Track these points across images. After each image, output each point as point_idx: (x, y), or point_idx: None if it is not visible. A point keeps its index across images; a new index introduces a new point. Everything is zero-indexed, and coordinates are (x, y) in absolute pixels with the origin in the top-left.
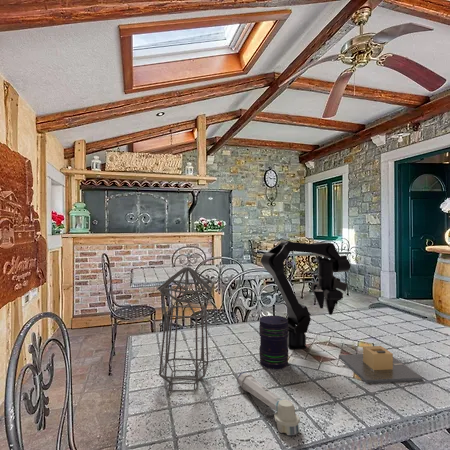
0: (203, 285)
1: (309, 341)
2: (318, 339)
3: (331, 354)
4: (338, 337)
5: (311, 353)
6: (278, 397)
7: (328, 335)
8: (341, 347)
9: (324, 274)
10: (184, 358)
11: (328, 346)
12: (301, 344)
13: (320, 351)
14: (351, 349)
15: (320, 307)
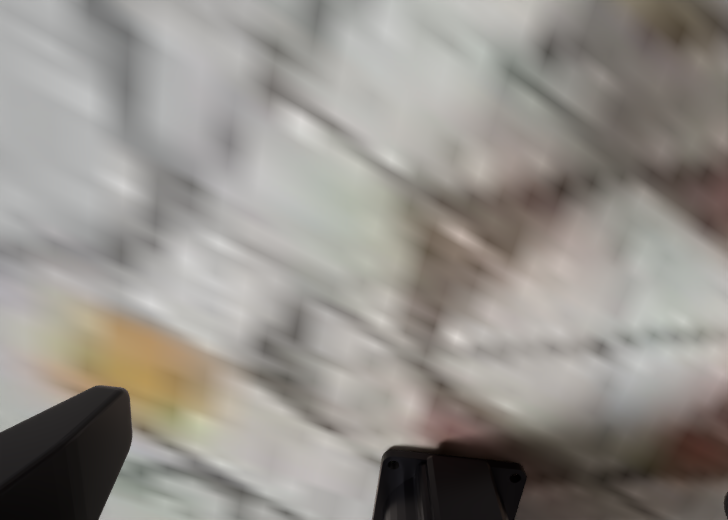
0: None
1: (375, 371)
2: (344, 270)
3: (706, 333)
4: (328, 3)
5: (617, 462)
6: None
7: (243, 97)
8: (611, 153)
9: None
10: None
11: (540, 267)
12: (505, 511)
13: (612, 386)
14: (702, 73)
15: (120, 465)
